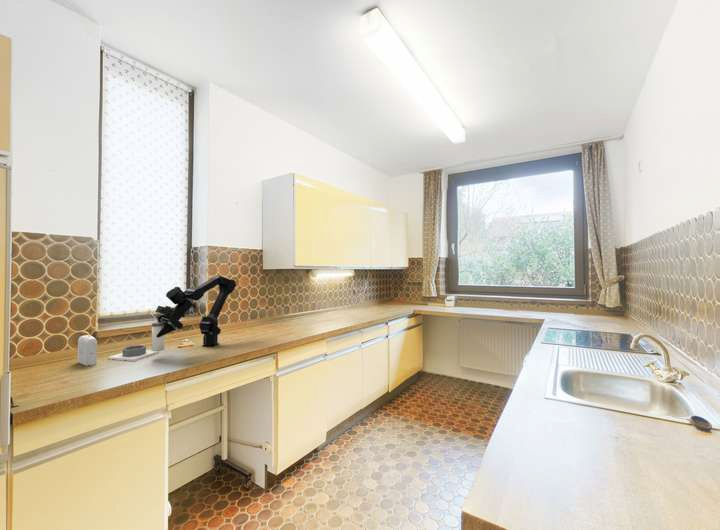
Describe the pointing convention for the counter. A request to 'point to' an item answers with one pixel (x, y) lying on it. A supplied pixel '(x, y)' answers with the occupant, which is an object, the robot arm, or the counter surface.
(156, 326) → the canister
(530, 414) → the counter surface
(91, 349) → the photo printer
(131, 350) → the collar
